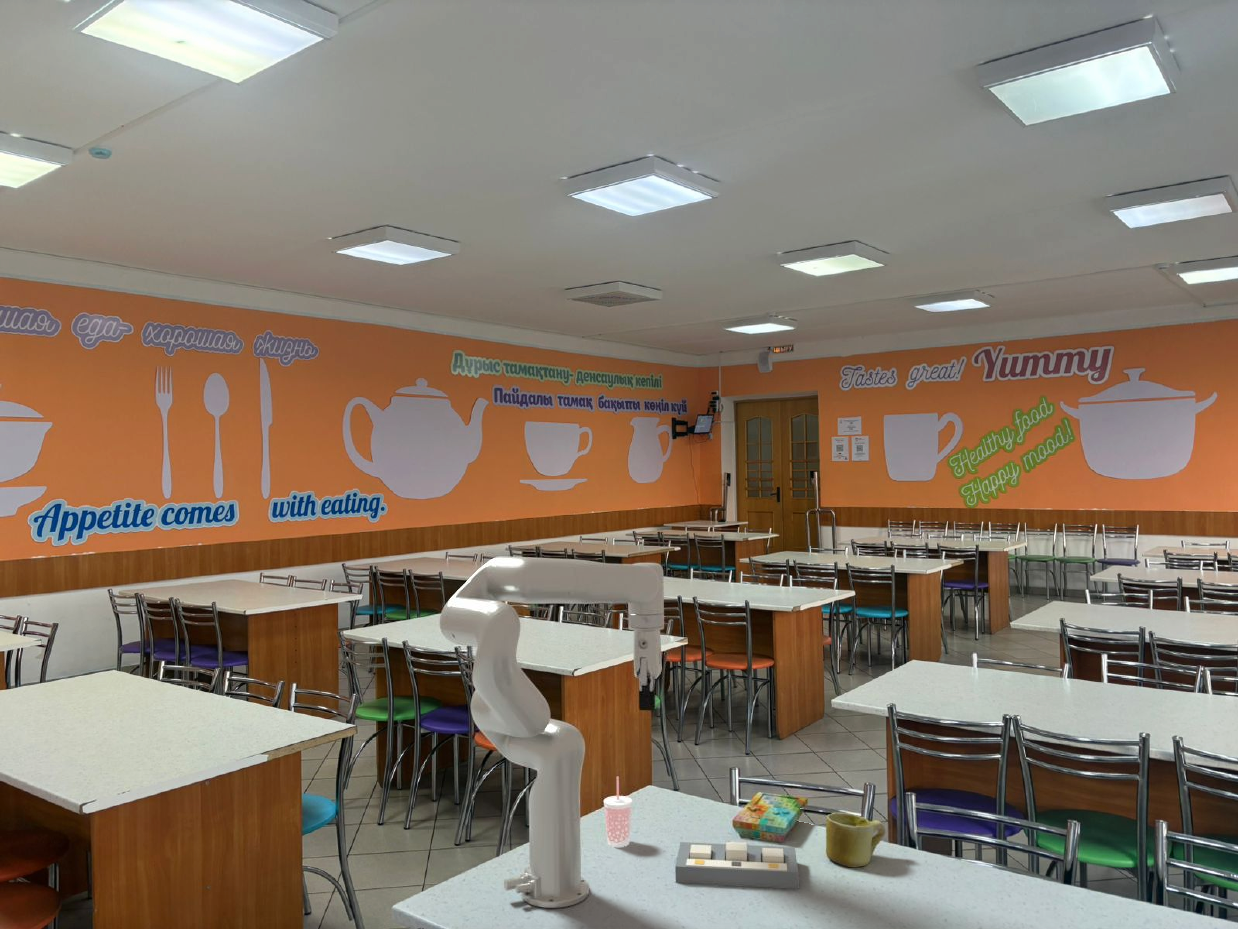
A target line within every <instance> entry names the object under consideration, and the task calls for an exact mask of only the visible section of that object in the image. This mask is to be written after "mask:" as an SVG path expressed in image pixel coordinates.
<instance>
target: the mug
mask: <svg viewBox="0 0 1238 929" xmlns="http://www.w3.org/2000/svg"><path fill="white" fill-rule="evenodd" d="M875 831H876V834H875V835H874V833H875ZM825 833H826V834H825V835H826V838H825V839H826V840H825V844H826V845H825V852H826V857H827V858H828V859H829V860H831V861H833V862H835V863H837V864H840V865H842V866H845V867H848V868H857V867H858V868H859V867H866V866H867V865H868V864H869V863H870V861H871V857H873V854H874V852H875V849H876V848H877V846H878V845H879V844H880V842H881V841H882V840H883V838H884V837H885V835H886V827H885V825H884V823H882V821H879V820H876V819H875V820H871V821H869V820H868V819H867V817H862V816H860V815H858V814H853V813H847V812H832V813H830V814H828V815H826V827H825Z"/></svg>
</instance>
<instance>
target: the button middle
mask: <svg viewBox="0 0 1238 929" xmlns="http://www.w3.org/2000/svg"><path fill="white" fill-rule="evenodd" d="M725 844H726V861H745V862H747V845H748V842H740V841H739V842H738V841H737V842H736V841H726V843H725Z"/></svg>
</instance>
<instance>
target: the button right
mask: <svg viewBox="0 0 1238 929" xmlns="http://www.w3.org/2000/svg"><path fill="white" fill-rule="evenodd" d="M762 860H763V862H765V863H784V855H783V849H778V848H762Z"/></svg>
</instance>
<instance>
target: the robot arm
mask: <svg viewBox="0 0 1238 929" xmlns="http://www.w3.org/2000/svg"><path fill="white" fill-rule="evenodd" d="M664 593H665V592H664V569H663V566H662V565H661V564H660V563H657V562H636V563H632V564H631V563H610V562H609V563H608V562H607V563H606V562H599V561H593V560H592V561H591V560H585V559H574V558H573V559H572V558H549V557H529V556H527V557H526V556H507V555H505V556H504V555H499V556H496V557H493V558H492V559H490V560H487V562H486V563H484V564H483V565H482V566H481V567H479V568H478V570H476V571H475V573H473V574H472V575H471V576H470V577H469V579H467V581H466V582H465V583H464V584H463V585H462V586H460V588H459V589H458V590H457V591H456V592H455V593H454V594H453V595H452V596H451V597H450V598H449V599H448V601H447V602H446V603H445V605H444V606H443V608H442V610H441V612H440V616H439V627H440V628H439V629H440V630H441V631H440V632H441V633H442V635H443V636H444V638H446V640H448V641H449V642H450V643H453V644H456V645H461V646H467V647H471V648H473V647H474V648H476V652H475V655H474V660H473V661H474V662H473V667H472V673H471V674H472V675H471V681H472V684H473V687H474V689H475V690H474V692H473V694H472V696H471V701H470V712H471V717H472V719H473V720H472V721H473V723H474V724H475V725H476V727H477V728H478V730H479V731H480V732H481V733H482V734H483V735H484V737H485V738H487V740H488V741H489V742H490V743H491V744H492V745H493V747H495V748H496V750H497V751H498V752H499V753H500V754H501V755H502V756H503V757H504V758H506V759H507V760H508V761H510V762H511V763H513V764H516V765H519V766H522V767H526V768H530V769H532V770H534V771H537V772H536V778H535V779H534V782H533V783H532V786H531V788H530V791H529V795H528V796H529V797H528V818H529V820H528V821H529V822H528V823H529V824H528V825H529V827H528V829H529V830H528V831H529V832H528V833H529V835H528V836H529V837H528V838H529V866H528V867H524V873H521V874H520V876H517V877H511V878H506V879H504V880H503V885H504V891H506V892H507V891H508V892H509V891H511V890H515V892H516V894H520V895H521V898H522V899H523V900H524V901H525V902H526V903H528V904H530V905H531V906H535V907H538V908H546V909H547V908H550V909H557V908H565V907H566V908H567V907H569V906H574V905H576V904H578V903H580V902H582V901H584V900H585V899H586V898H587V897H588V895H589V893H590V884H589V882H588V880H586V879H585V878H584V877H582V876H581V874H582V872H581V870H582V868H581V867H582V866H581V864H582V863H581V861H582V860H581V858H582V856H581V853H582V852H581V850H582V849H581V779H582V771H583V766H584V765H583V764H584V759H585V754H586V742H585V739H584V737H583V734H582V733H581V732H580V730H579V729H578V728H577V727H576V726H574V725H573V724H570V723H568V722H566V721H562V720H560V719H559V720H558V719H554V718H551V709H550V706H549V702H547V699H546V697H544V696H543V694H542V692H541V691H540V690H539V689H538V688H537V687H536V685H535V684H534V683H533V682H532V681H531V679H530V678H529V677H528V676H527V675H526V673H525V672H524V671H523V669H522V668H521V666H520V665H519V663H518V661H517V652H518V651H517V649H518V644H519V638H520V635H521V622H520V621H521V620H520V616H519V614H518V613H517V611H516V608H513V606H511V605H510V604H508V603H519V604H531V605H532V604H535V605H536V604H539V605H540V604H541V605H543V604H544V605H545V604H567V605H569V604H573V605H574V604H580V605H582V604H583V605H587V604H588V605H589V604H611V603H612V604H627V605H628V606H627V607H628V609H627V610H628V611H627V612H628V614H627V616H628V617H627V618H628V630H631V631H633V669H634V670H633V674H634V677H635V678H637V679H638V684H639V685H638V686H639V690H638V709H639V710H640V711H650V712H651V711H654V710H656V709H655V708H656V689H655V679H657V678H658V677H659V676H660V675H661V673H662V670H663V667H662V643H661V642H662V641H661V631H662V630H664V629H665V608H664V606H665V604H664V603H665V602H664V598H665V597H664ZM506 602H508V603H506Z"/></svg>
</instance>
